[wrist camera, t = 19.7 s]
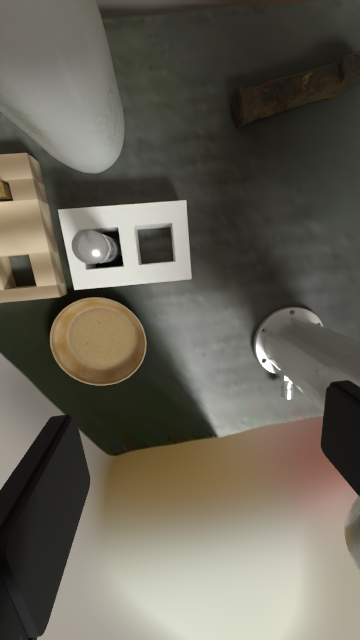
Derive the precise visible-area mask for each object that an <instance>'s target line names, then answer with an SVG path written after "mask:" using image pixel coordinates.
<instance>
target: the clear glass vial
mask: <svg viewBox="0 0 360 640" xmlns="http://www.w3.org/2000/svg"><path fill="white" fill-rule="evenodd" d="M72 251H73V253H74V255H75V256H76V257H77V258H78V259H79V260H80V261H82V262H84V263H87V264H95V263H105V262H114V261H116V260H118V259H119V258H120V256H121V254H122V251H121V245H120V243H119V242H118V241H117V240H116V239H114V238H111V237H109V236H106V235H103V234H101V233H98V232H96V231H93V230H90V229H84V230H81V231H79V232H77V233H76V234H75V235H74V237H73V239H72Z"/></svg>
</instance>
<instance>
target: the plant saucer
mask: <svg viewBox="0 0 360 640" xmlns="http://www.w3.org/2000/svg"><path fill="white" fill-rule="evenodd" d="M50 346H51V350H52V353H53V355H54V357H55V360H56V361H57V363H58V364H59V366H60V367H61V368H62V369H63V370H64V371H65V372H66V373H68V374H69V375H70V376H71V377H73V378H75V379H77V380H79V381H81V382H84V383H87V384H92V385H111V384H115V383H118V382H121V381H123V380H125V379H127V378H128V377H130V376H131V375H132V374H133V373H134V372H135V371H136V370H137V369H138V368H139V366H140V365H141V363H142V361H143V359H144V356H145V352H146V336H145V333H144V329H143V327H142V325H141V323H140V321H139V320H138V318H137V317H136V316H135V315H134V314H133V313H132V312H131V311H130V310H129V309H128V308H126V307H125V306H123V305H122V304H120V303H118V302H116V301H113V300H110V299H106V298H99V297H93V298H85V299H81V300H78V301H75V302H73V303H71V304H70V305H68V306H67V307H65V308H64V309H63V310H62V311H61V312H60V313H59V314H58V316H57V317H56V319H55V320H54V322H53V325H52V328H51V332H50Z"/></svg>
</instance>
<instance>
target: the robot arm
mask: <svg viewBox="0 0 360 640" xmlns="http://www.w3.org/2000/svg"><path fill="white" fill-rule="evenodd" d="M262 330H263V331H262ZM253 346H254V353H255V356H256V358H257V360H258V362H259V363H260V364H261V365H262V366H263V367H264V368H265V369H266V370H267V371H269V372H271V373H273V374H277V375H280V381H282V386H281V396H282V397H283V398H285V399H291V398H293V384H294V385H295V386H296V388H297V389H298V390H301V391H302V392H303V393H304V394H305V395H306V396H307V397H308V398H309V399H310V400H311V401H312V402H313V403H314V404H315V405H316V406H317V407H318V408H320V409H321V410H322V411H323V412H324V416H323V427H322V437H321V448H322V451H323V453H324V454H325V456H326V457H327V458H328V459H329V461H330V462H331V463H332V464H333V465H334V467H335V468H336V469H337V470H338V471H339V472H340V474H341V475H342V476H343V477H344V479H345V480H346V481H347V482H348V483H349V485H350V486H351V487H352V488H353V489H354V491H355V492H356V493H357V494H358V495H359V496H358V497H357V499H356V500H355V501H354V503H353V505H352V506H351V508H350V510H349V512H348V514H347V517H346V520H345V527H344V533H345V539H346V544H347V547H348V550H349V552H350V555H351V557H352V559H353V561H354V563H355V565H356V566H357V568H358V570H359V572H360V342H358V341H355V340H353V339H351V338H348V337H346V336H344V335H341V334H339V333H337V332H334V331H332V330H330V329H327V328H325V327H324V326H323V324H322V322H321V320H320V319H319V318H318V316H316V315H315V314H314V313H313V312H311V311H309V310H307V309H304V308H300V307H286V308H282V309H279V310H277V311H275V312H273V313H272V314H270V315H269V316H268V317H267V318H265V319H264V320H263V322H262V323H261V324H260V326H259V327H258V329H257V331H256V334H255V337H254V345H253ZM89 487H90V475H89V470H88V466H87V462H86V459H85V454H84V450H83V446H82V442H81V437H80V433H79V429H78V425H77V421H76V419H75V418H71V416H70V415H61V416H53V417H51V418H50V419H49V420H48V422H47V423H46V425H45V426H44V427H43V429H42V430H41V432H40V433H39V435H38V436H37V438H36V439H35V441H34V442H33V444H32V445H31V446H30V448H29V449H28V451H27V452H26V454H25V455H24V457H23V458H22V460H21V461H20V463H19V464H18V466H17V467H16V468H15V470H14V471H13V472H12V474H11V476H10V477H9V478H8V480H7V481H6V483H5V484H4V486H3V487H2V489H1V490H0V640H37V637H39V636H41V635H43V633H44V631H45V629H46V627H47V624H48V621H49V618H50V615H51V612H52V608H53V605H54V602H55V598H56V595H57V592H58V589H59V585H60V582H61V579H62V576H63V572H64V569H65V566H66V562H67V559H68V556H69V553H70V549H71V546H72V543H73V540H74V536H75V533H76V530H77V526H78V523H79V520H80V517H81V514H82V510H83V507H84V503H85V500H86V497H87V494H88V491H89Z"/></svg>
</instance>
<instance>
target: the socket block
mask: <svg viewBox="0 0 360 640" xmlns="http://www.w3.org/2000/svg"><path fill="white" fill-rule="evenodd" d="M0 181H1V182H3V183H5V184H7V185H9V186H10V190H11V193H12V197H13V201H6V202H0V303H2V302H13V301H23V300H34V299H44V298H55V297H61V296H63V295H66V294H67V289H66V284H65V280H64V275H63V270H62V266H61V261H60V257H59V252H58V247H57V243H56V238H55V233H54V229H53V224H52V220H51V215H50V210H49V206H48V201H47V196H46V192H45V187H44V183H43V178H42V173H41V169H40V164H39V162H38V161H37V160H35V159H34V158H33V157H32V156H30V155H29V154H28V153H16V154H0ZM21 255H29V257H30V261H31V265H32V269H33V273H34V277H35V281H36V285H34V286H23V287H16V283H15V279H14V276H13V272H12V268H11V265H10V261H9V258H8V257H10V256H21Z"/></svg>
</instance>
